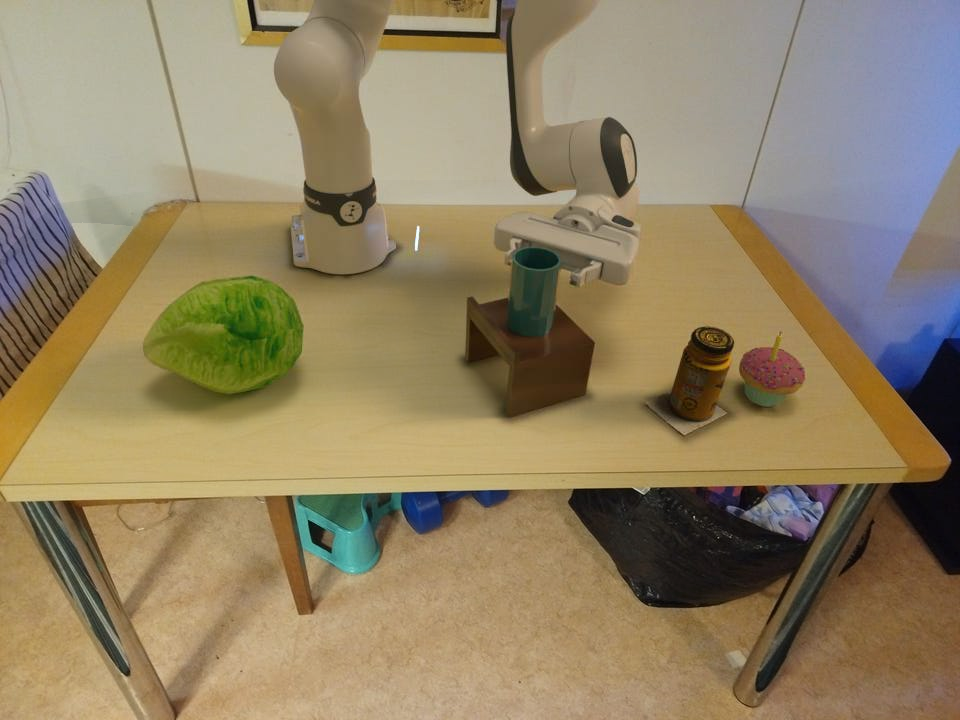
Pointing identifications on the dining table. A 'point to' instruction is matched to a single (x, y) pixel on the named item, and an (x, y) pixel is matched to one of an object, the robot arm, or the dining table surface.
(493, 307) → the shelf
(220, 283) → the lettuce
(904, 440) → the dining table surface
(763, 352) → the cupcake
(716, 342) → the condiment
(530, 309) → the cup
